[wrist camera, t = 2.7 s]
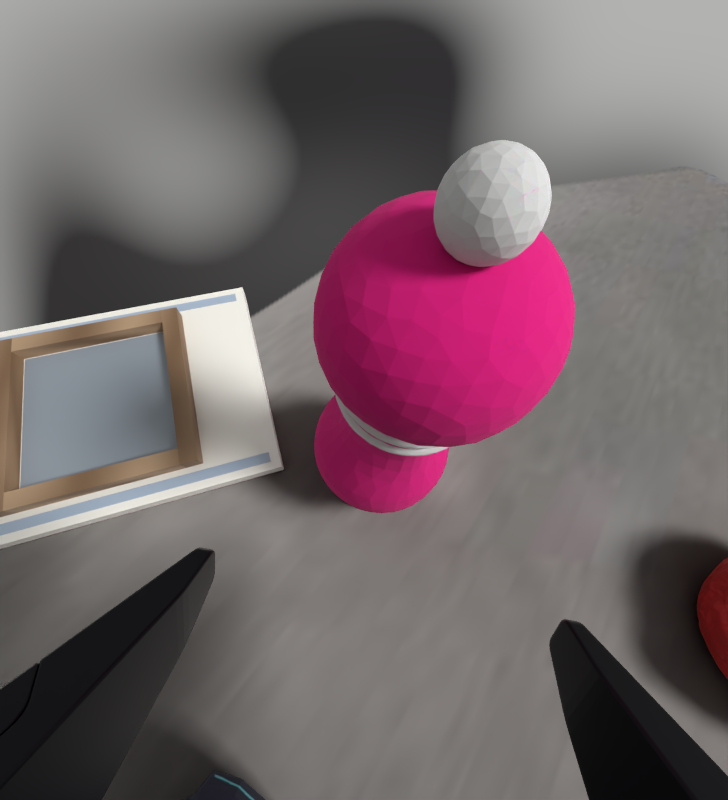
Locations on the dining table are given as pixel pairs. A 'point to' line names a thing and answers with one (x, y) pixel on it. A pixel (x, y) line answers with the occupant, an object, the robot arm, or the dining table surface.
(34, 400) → the picture frame
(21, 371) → the walnut socket
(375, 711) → the dining table surface
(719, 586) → the pomegranate
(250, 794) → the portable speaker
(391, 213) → the pepper mill
